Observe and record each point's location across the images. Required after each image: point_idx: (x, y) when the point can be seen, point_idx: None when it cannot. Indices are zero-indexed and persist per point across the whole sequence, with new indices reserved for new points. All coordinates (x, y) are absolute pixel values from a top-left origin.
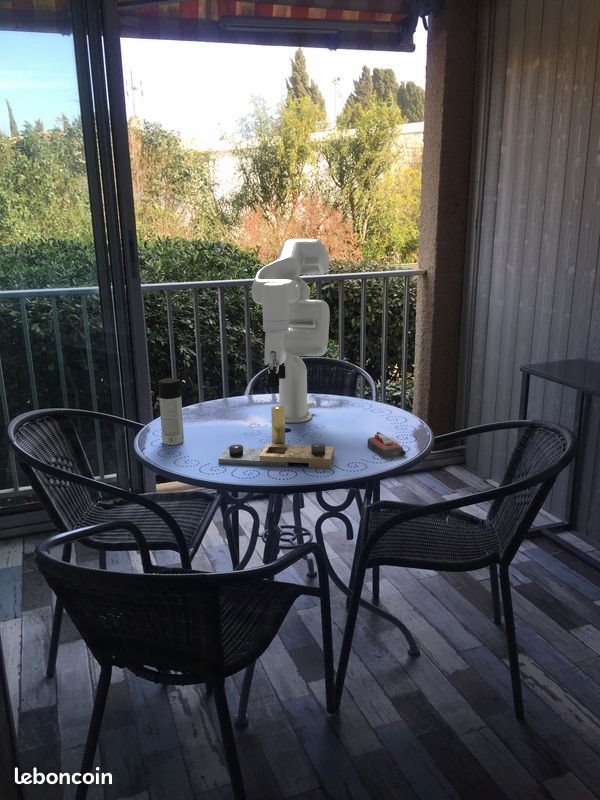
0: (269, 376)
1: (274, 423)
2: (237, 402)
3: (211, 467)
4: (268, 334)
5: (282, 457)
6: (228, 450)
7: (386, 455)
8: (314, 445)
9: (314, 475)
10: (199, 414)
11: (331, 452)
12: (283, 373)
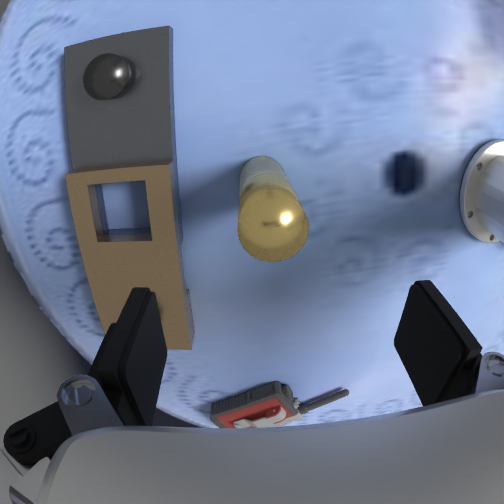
0: (109, 354)
1: (241, 193)
2: None
3: (48, 44)
4: None
5: (78, 239)
6: (135, 41)
7: (211, 410)
8: None
9: (74, 303)
10: None
11: None
12: (408, 364)
